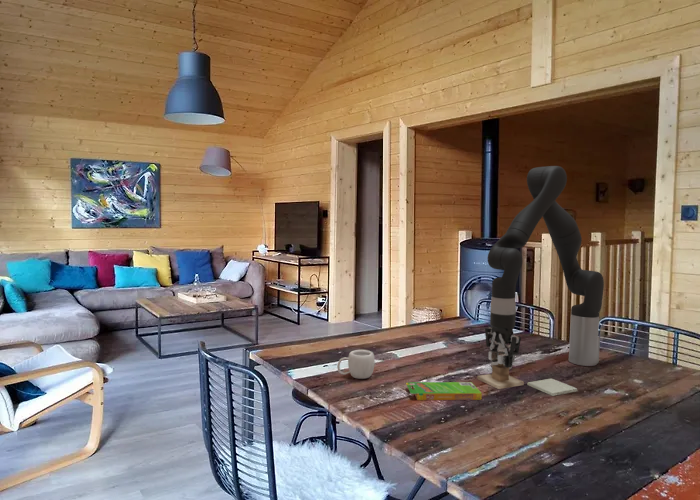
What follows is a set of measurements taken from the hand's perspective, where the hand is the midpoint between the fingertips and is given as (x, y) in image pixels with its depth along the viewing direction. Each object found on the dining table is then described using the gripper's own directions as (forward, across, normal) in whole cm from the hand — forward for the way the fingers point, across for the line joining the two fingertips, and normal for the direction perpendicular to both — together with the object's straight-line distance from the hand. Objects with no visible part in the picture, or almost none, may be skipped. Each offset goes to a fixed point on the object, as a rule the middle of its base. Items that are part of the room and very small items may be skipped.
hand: (501, 364), depth 159 cm
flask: (+6, +12, -11) cm, 17 cm away
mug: (+6, +22, +40) cm, 46 cm away
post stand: (+6, 0, 0) cm, 6 cm away
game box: (+6, -2, +23) cm, 24 cm away
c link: (-1, 0, 0) cm, 1 cm away
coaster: (+6, -10, -11) cm, 16 cm away
